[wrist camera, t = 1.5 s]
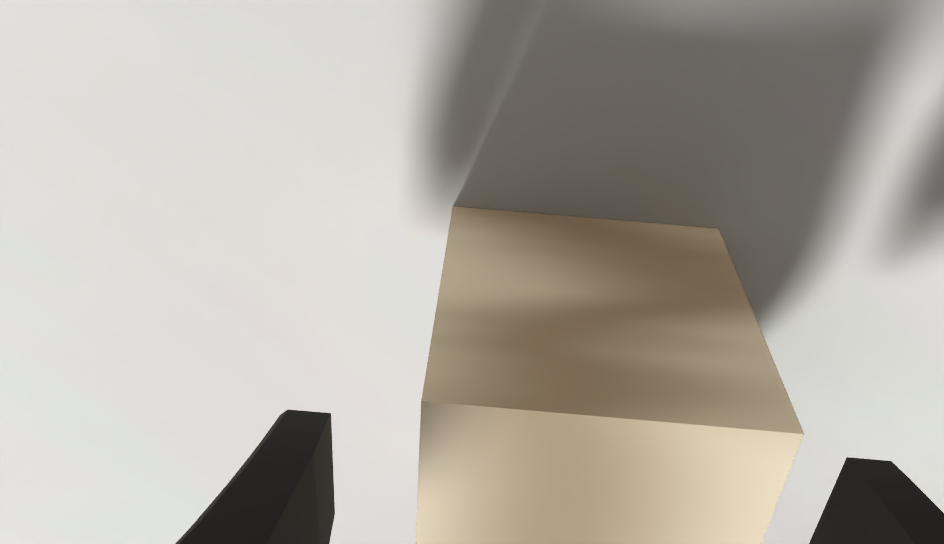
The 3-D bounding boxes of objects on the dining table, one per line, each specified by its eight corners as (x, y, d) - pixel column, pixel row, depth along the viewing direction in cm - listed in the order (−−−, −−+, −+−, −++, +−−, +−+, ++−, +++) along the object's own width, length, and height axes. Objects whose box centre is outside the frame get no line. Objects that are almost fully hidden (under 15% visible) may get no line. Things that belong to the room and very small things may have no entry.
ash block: (717, 227, 14) (804, 434, 9) (666, 423, 16) (717, 658, 12) (452, 204, 14) (421, 401, 10) (441, 404, 16) (411, 632, 12)
